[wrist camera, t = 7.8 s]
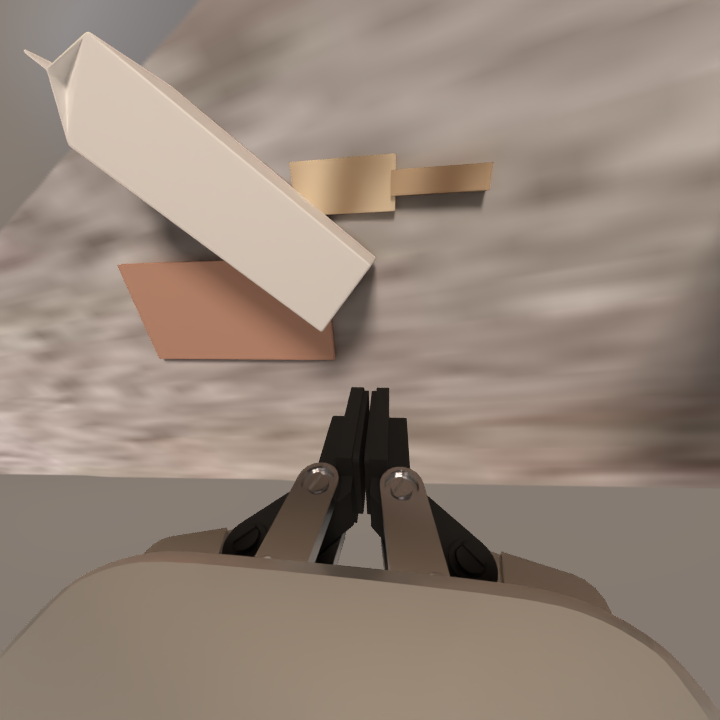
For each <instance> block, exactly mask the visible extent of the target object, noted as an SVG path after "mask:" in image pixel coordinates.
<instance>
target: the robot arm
mask: <svg viewBox="0 0 720 720" xmlns="http://www.w3.org/2000/svg"><path fill="white" fill-rule="evenodd" d="M365 492H366V498H367V499H366V500H367V514H371V526H372V528H373V529H374V530H375V531H376V532H377V534H378V535H379V536H380V537H381V546H382V556H383V566H384V570H381V569H371V568H360V567H351V566H341V565H337V564H338V560H339V557H340V553H341V550H342V546H343V543H344V540H345V534H346V531H347V530H348V529H349V528H351V527H352V526H353V525H354V522H355V523H357V519H358V513H360V514H363V511H364V502H365V501H364V500H365ZM0 720H720V710H719V709H718V708H717V707H716V705H715V704H714V703H713V701H712V700H711V699H710V697H709V696H708V695H707V693H706V692H705V691H704V690H703V689H702V687H701V686H700V685H699V684H698V683H697V681H696V680H695V679H694V678H693V677H692V675H691V674H690V673H689V672H688V671H687V670H686V669H685V667H684V666H683V665H682V664H681V663H680V662H679V661H678V660H676V658H675V657H674V656H673V655H672V654H671V653H669V652H668V651H667V650H666V649H665V648H664V647H663V646H661V645H660V644H659V643H657V642H656V641H654V640H653V639H652V638H651V637H649V636H648V635H646V634H645V633H643V632H642V631H640V630H639V629H637V628H635V627H634V626H632V625H631V624H629V623H627V622H626V621H624V620H622V619H620V618H618V617H616V616H614V615H613V614H612V613H611V610H610V609H609V607H608V605H607V603H606V601H605V599H604V598H603V597H602V595H601V594H600V593H599V592H598V591H597V590H596V588H594V587H593V586H592V585H591V584H589V583H588V582H587V581H586V580H584V579H582V578H580V577H578V576H576V575H573V574H571V573H567V572H564V571H561V570H558V569H555V568H552V567H548V566H545V565H542V564H539V563H536V562H533V561H530V560H527V559H523V558H520V557H517V556H514V555H510V554H508V553H504V552H501V555H500V554H497V553H494V552H490V551H489V550H488V549H487V547H486V546H485V545H484V544H483V543H482V542H480V541H479V540H478V539H477V538H476V537H475V536H473V535H472V534H471V533H470V532H469V531H468V530H467V529H465V528H464V527H463V526H462V525H461V524H460V523H458V522H457V521H456V520H455V519H454V518H453V517H451V516H450V515H449V514H448V513H447V512H446V511H444V510H443V509H442V508H441V507H440V506H439V505H438V504H436V503H435V502H434V501H433V500H432V499H431V498H430V497H428V496H427V494H426V490H425V487H424V483H423V481H422V479H421V477H420V476H419V475H418V474H417V473H416V472H415V471H413V470H411V469H410V462H409V447H408V432H407V419H406V418H389V388H377V391H372V396H371V404H370V411H369V391H364V388H363V387H352V388H351V392H350V396H349V400H348V404H347V408H346V412H345V416H333V417H332V420H331V423H330V427H329V430H328V433H327V437H326V440H325V443H324V447H323V450H322V453H321V457H320V460H319V463H314V464H311V465H309V466H307V467H306V468H305V469H303V470H302V471H301V473H300V474H299V475H298V477H297V479H296V481H295V483H294V485H293V487H292V488H291V490H290V492H289V493H287V494H285V495H284V496H282V497H281V498H279V499H278V500H276V501H274V502H273V503H271V504H270V505H268V506H267V507H265V508H264V509H262V510H260V511H259V512H257V513H256V514H254V515H253V516H251V517H250V518H248V519H246V520H245V521H243V522H242V523H240V524H239V525H238V526H237V527H235V528H234V529H233V530H227V528H221V529H215V530H208V531H202V532H197V533H190V534H183V535H177V536H171V537H167V538H164V539H161V540H160V541H158V542H157V543H155V544H154V545H152V546H151V547H150V548H149V549H148V550H147V551H146V552H145V553H144V554H140V555H135V556H132V557H128V558H124V559H121V560H117V561H115V562H111V563H108V564H106V565H103V566H101V567H98V568H96V569H94V570H92V571H90V572H88V573H86V574H84V575H83V576H81V577H79V578H78V579H76V580H74V581H73V582H72V583H70V584H69V585H68V586H67V587H65V588H64V589H63V590H61V592H59V593H58V594H57V595H56V596H55V597H54V598H52V599H51V600H50V601H49V602H48V603H47V604H46V605H45V606H44V607H43V608H42V609H41V610H40V611H39V612H38V613H37V614H36V615H35V616H34V617H33V618H32V619H31V620H30V621H29V622H28V623H27V624H26V625H25V626H24V627H23V628H22V629H21V631H19V632H18V633H17V634H16V635H15V637H14V638H13V639H12V640H11V641H10V642H9V643H8V644H7V645H6V646H5V647H4V648H3V649H2V650H1V652H0Z"/></svg>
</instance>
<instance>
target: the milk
mask: <svg viewBox="0 0 720 720" xmlns="http://www.w3.org/2000/svg"><path fill="white" fill-rule="evenodd" d="M24 53H26V54H27V55H28V56H29V57H31V58H32V59H33V60H34V61H36V62H37V63H38V64H40V65H41V66H42V67H43V68H44V69H45V70H46V71H47V73H48V77H49V80H50V83H51V87H52V90H53V94H54V97H55V101H56V104H57V108H58V111H59V115H60V118H61V122H62V125H63V129H64V132H65V136H66V139H67V142H68V144H69V146H70V147H71V148H72V149H74V150H75V151H77V152H78V153H79V154H81V155H82V156H83V157H85V158H86V159H87V160H89V161H90V162H91V163H93V164H94V165H95V166H97V167H98V168H100V169H101V170H102V171H104V172H105V173H106V174H108V175H109V176H110V177H112V178H113V179H114V180H116V181H117V182H118V183H120V184H121V185H123V186H124V187H125V188H127V189H128V190H129V191H131V192H132V193H133V194H135V195H136V196H137V197H139V198H140V199H142V200H143V201H144V202H146V203H147V204H148V205H150V206H151V207H152V208H154V209H155V210H156V211H158V212H159V213H160V214H162V215H163V216H165V217H166V218H167V219H169V220H170V221H171V222H173V223H174V224H175V225H177V226H178V227H179V228H181V229H182V230H183V231H185V232H186V233H188V234H189V235H190V236H192V237H193V238H194V239H196V240H197V241H198V242H200V243H201V244H202V245H204V246H205V247H207V248H208V249H209V250H211V251H212V252H213V253H215V254H216V255H217V256H219V257H220V258H221V259H223V260H224V261H225V262H227V263H228V264H230V265H231V266H232V267H234V268H235V269H236V270H238V271H239V272H240V273H242V274H243V275H244V276H246V277H247V278H248V279H250V280H251V281H253V282H254V283H255V284H257V285H258V286H259V287H261V288H262V289H263V290H265V291H266V292H267V293H269V294H270V295H272V296H273V297H274V298H276V299H277V300H278V301H280V302H281V303H282V304H284V305H285V306H286V307H288V308H289V309H290V310H292V311H293V312H295V313H296V314H297V315H299V316H300V317H301V318H303V319H304V320H305V321H307V322H308V323H309V324H311V325H312V326H314V327H315V328H316V329H318V330H319V331H321V332H322V331H323V330H324V329H325V327H326V326H327V325H328V323H329V322H330V321H331V319H332V318H333V317H334V315H335V314H336V313H337V311H338V310H339V309H340V307H341V306H342V305H343V303H344V302H345V301H346V299H347V298H348V297H349V295H350V294H351V293H352V291H353V290H354V289H355V287H356V286H357V284H358V283H359V282H360V280H361V279H362V278H363V276H364V275H365V274H366V272H367V271H368V270H369V268H370V267H371V265H372V264H373V262H374V261H375V259H376V257H375V256H374V255H372V254H371V253H370V252H369V251H368V250H366V249H365V248H364V247H363V246H362V245H361V244H359V243H358V242H357V241H356V240H355V239H353V238H352V237H351V236H350V235H349V234H347V233H346V232H345V231H344V230H343V229H341V228H340V227H339V226H338V225H337V224H335V223H334V222H333V221H332V220H331V219H329V218H328V217H327V216H326V215H325V214H323V213H322V212H321V211H320V210H319V209H318V208H316V207H315V206H314V205H313V204H312V203H310V202H309V201H308V200H307V199H306V198H304V197H303V196H302V195H301V194H300V193H298V192H297V191H296V190H295V189H294V188H292V187H291V186H290V185H289V184H288V183H286V182H285V181H284V180H283V179H282V178H281V177H279V176H278V175H277V174H276V173H275V172H273V171H272V170H271V169H270V168H269V167H267V166H266V165H265V164H264V163H263V162H261V161H260V160H259V159H258V158H257V157H255V156H254V155H253V154H252V153H251V152H249V151H248V150H247V149H246V148H245V147H243V146H242V145H241V144H240V143H239V142H238V141H236V140H235V139H234V138H233V137H232V136H230V135H229V134H228V133H227V132H226V131H224V130H223V129H222V128H221V127H220V126H218V125H217V124H216V123H215V122H214V121H212V120H211V119H210V118H209V117H208V116H206V115H205V114H204V113H203V112H202V111H200V110H199V109H198V108H197V107H196V106H195V105H193V104H192V103H191V102H190V101H189V100H187V99H186V98H185V97H184V96H183V95H181V94H180V93H179V92H178V91H177V90H175V89H174V88H173V87H172V86H170V85H169V84H167V83H166V82H164V81H163V80H161V79H160V78H158V77H157V76H155V75H154V74H152V73H151V72H149V71H148V70H146V69H145V68H143V67H142V66H140V65H139V64H137V63H136V62H134V61H132V60H131V59H129V58H128V57H126V56H125V55H123V54H122V53H120V52H119V51H117V50H116V49H114V48H113V47H111V46H110V45H108V44H107V43H105V42H104V41H102V40H101V39H99V38H98V37H96V36H95V35H93V34H92V33H90V32H86V33H85V34H83V36H81V37H80V38H79V39H78V40H77V41H76V42H75V43H74V44H73V45H72V46H70V47H69V48H68V49H67V50H66V51H65V52H64V53H63V54H62V55H61V56H60V57H58V58H57V59H56V60H55V61H54V62H53V63H52V62H49V61H48V60H45V59H44V58H42V57H40V56H38V55H35V54H33V53H31V52H29V51H27V50H24Z"/></svg>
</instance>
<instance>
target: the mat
mask: <svg viewBox="0 0 720 720" xmlns="http://www.w3.org/2000/svg"><path fill="white" fill-rule="evenodd" d="M117 266H118V268H119V270H120V272H121V274H122V277H123V279H124V281H125V283H126V286H127V288H128V290H129V292H130V294H131V297H132V299H133V301H134V303H135V306H136V308H137V310H138V312H139V314H140V317H141V319H142V321H143V323H144V325H145V328H146V330H147V332H148V334H149V337H150V339H151V341H152V343H153V345H154V348H155V350H156V352H157V354H158V356H159V359H278V360H335V357H336V356H335V347H334V337H333V327H332V319H331V321H330V322H329V323H328V325H327V326H326V327H325V329H324V330H323V331H322V332H321V331H319V330H318V329H316V328H315V327H314V326H312V325H311V324H309V323H308V322H307V321H305V320H304V319H303V318H301V317H300V316H299V315H297V314H296V313H295V312H293V311H292V310H290V309H289V308H288V307H286V306H285V305H284V304H282V303H281V302H280V301H278V300H277V299H276V298H274V297H273V296H272V295H270V294H269V293H267V292H266V291H265V290H263V289H262V288H261V287H259V286H258V285H257V284H255V283H254V282H253V281H251V280H250V279H248V278H247V277H246V276H244V275H243V274H242V273H240V272H239V271H238V270H236V269H235V268H234V267H232V266H231V265H230V264H228V263H227V262H225V261H224V260H218V261H192V262H166V263H140V264H121V265H117Z"/></svg>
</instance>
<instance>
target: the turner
mask: <svg viewBox="0 0 720 720" xmlns="http://www.w3.org/2000/svg"><path fill="white" fill-rule="evenodd" d="M493 163H494V162H490V163H476V164H463V165H450V166H437V167H424V168H411V169H398V170H396V153H394V154H382V155H370V156H358V157H347V158H335V159H323V160H311V161H299V162H289V165H290V172H291V179H292V186H293V188H294V189H295V190H296V191H297V192H298V193H300V194H301V195H302V196H303V197H304V198H306V199H307V200H308V201H309V202H310V203H312V204H313V205H314V206H315V207H316V208H318V209H319V210H320V211H321V212H322V213H323V214H325V215H330V214H348V213H367V212H385V211H395V196H409V195H426V194H442V193H458V192H474V191H487V190H489V189H490V182H491V176H492V169H493Z"/></svg>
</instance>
